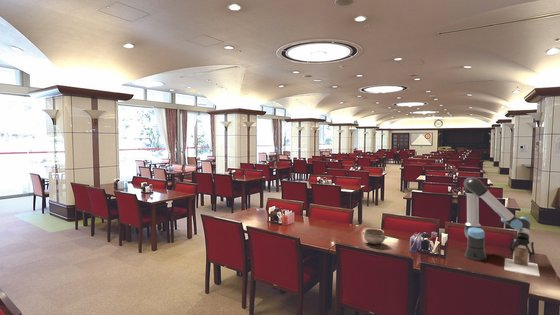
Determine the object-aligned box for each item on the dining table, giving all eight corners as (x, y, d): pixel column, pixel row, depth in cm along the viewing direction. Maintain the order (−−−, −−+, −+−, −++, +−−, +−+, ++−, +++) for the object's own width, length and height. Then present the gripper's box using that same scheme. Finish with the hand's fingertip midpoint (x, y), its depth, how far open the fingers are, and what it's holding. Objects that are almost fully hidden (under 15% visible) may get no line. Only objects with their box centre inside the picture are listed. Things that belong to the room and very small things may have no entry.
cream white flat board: (539, 277, 214) (539, 276, 214) (504, 270, 227) (504, 269, 227) (537, 265, 237) (537, 264, 237) (505, 259, 249) (505, 258, 249)
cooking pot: (391, 244, 286) (391, 231, 285) (382, 249, 272) (382, 235, 271) (366, 238, 303) (366, 226, 302) (357, 243, 289) (357, 230, 289)
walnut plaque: (514, 263, 238) (514, 248, 237) (514, 262, 241) (515, 246, 240) (527, 266, 232) (527, 250, 232) (527, 264, 235) (528, 249, 235)
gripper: (540, 240, 240) (538, 266, 229) (507, 234, 254) (504, 259, 243) (540, 234, 236) (538, 261, 225) (506, 229, 250) (503, 254, 239)
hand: (520, 260), depth 234 cm, fingers closed on walnut plaque, 8 cm apart
